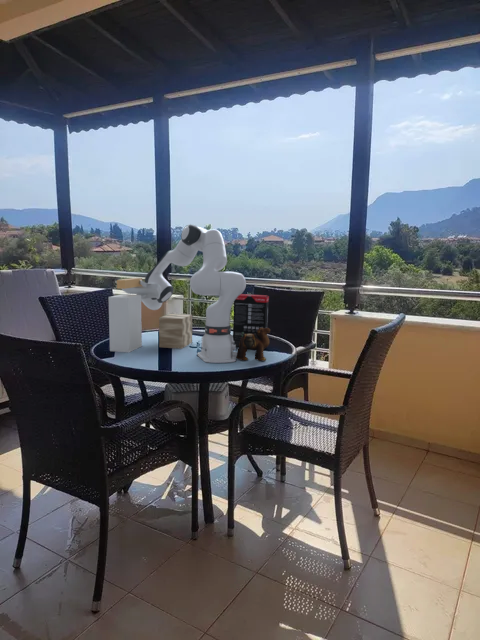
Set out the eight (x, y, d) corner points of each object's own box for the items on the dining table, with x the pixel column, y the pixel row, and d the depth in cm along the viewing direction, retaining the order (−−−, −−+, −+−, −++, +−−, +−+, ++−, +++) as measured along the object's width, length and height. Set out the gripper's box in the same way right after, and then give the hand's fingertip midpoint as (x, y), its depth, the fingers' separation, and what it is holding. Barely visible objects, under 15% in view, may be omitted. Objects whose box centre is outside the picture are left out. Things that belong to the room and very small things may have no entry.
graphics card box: (267, 347, 224) (269, 294, 220) (265, 350, 218) (266, 295, 214) (235, 345, 228) (236, 293, 224) (232, 348, 222) (232, 294, 218)
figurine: (269, 363, 193) (270, 329, 191) (234, 361, 194) (235, 328, 192) (269, 358, 202) (270, 325, 200) (237, 356, 204) (237, 324, 201)
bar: (134, 285, 226) (134, 277, 225) (142, 285, 225) (141, 278, 224) (117, 288, 207) (116, 279, 207) (124, 288, 207) (124, 280, 206)
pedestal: (170, 341, 236) (170, 313, 233) (192, 342, 233) (192, 314, 231) (159, 347, 220) (159, 317, 218) (182, 348, 218) (182, 318, 216)
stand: (123, 345, 223) (122, 294, 219) (141, 346, 221) (141, 295, 217) (109, 351, 210) (108, 296, 206) (129, 352, 208) (128, 297, 204)
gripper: (128, 287, 237) (117, 275, 224) (164, 288, 233) (155, 276, 220) (125, 297, 235) (114, 286, 222) (161, 299, 231) (152, 287, 218)
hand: (135, 281), depth 221 cm, fingers closed on bar, 4 cm apart
